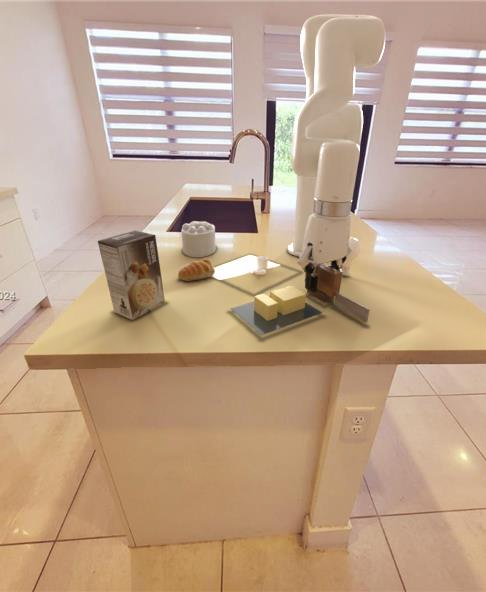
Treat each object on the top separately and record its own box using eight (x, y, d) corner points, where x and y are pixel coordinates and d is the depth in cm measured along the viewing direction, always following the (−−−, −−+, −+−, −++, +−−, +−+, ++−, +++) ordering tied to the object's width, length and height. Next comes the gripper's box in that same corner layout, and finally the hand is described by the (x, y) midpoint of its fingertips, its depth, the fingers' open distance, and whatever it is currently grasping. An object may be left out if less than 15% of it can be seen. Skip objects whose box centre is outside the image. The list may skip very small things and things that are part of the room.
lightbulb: (359, 275, 88) (367, 237, 83) (348, 282, 84) (355, 242, 78) (339, 269, 92) (345, 232, 86) (327, 275, 87) (333, 236, 82)
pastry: (186, 285, 80) (184, 272, 78) (174, 276, 84) (172, 263, 82) (217, 274, 85) (216, 261, 83) (204, 267, 89) (203, 254, 87)
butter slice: (263, 307, 69) (264, 293, 67) (277, 317, 65) (278, 302, 63) (253, 310, 67) (254, 296, 66) (267, 321, 64) (268, 306, 62)
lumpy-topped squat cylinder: (216, 244, 109) (215, 219, 105) (213, 257, 98) (212, 230, 93) (186, 243, 109) (184, 218, 105) (179, 257, 97) (177, 229, 93)
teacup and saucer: (261, 280, 83) (262, 266, 81) (240, 271, 88) (240, 258, 86) (282, 271, 89) (283, 257, 87) (261, 263, 94) (261, 250, 92)
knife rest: (315, 293, 77) (316, 282, 76) (333, 303, 73) (335, 291, 72) (306, 296, 76) (307, 285, 74) (324, 306, 71) (325, 294, 70)
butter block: (290, 298, 72) (291, 285, 71) (304, 308, 69) (306, 293, 67) (269, 305, 69) (270, 291, 68) (283, 315, 66) (284, 300, 64)
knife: (310, 291, 78) (314, 259, 74) (369, 324, 65) (377, 288, 61) (303, 293, 77) (306, 261, 73) (361, 327, 64) (369, 290, 60)
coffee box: (146, 295, 74) (136, 229, 67) (166, 303, 71) (157, 234, 64) (112, 312, 67) (96, 240, 60) (132, 321, 64) (118, 246, 57)
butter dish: (287, 294, 76) (287, 291, 76) (322, 316, 68) (322, 312, 67) (230, 312, 68) (230, 308, 68) (261, 339, 60) (261, 335, 59)
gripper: (346, 201, 72) (335, 273, 80) (287, 209, 63) (282, 289, 71) (373, 207, 66) (358, 284, 74) (313, 217, 57) (304, 302, 66)
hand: (321, 286), depth 73 cm, fingers open, 6 cm apart
